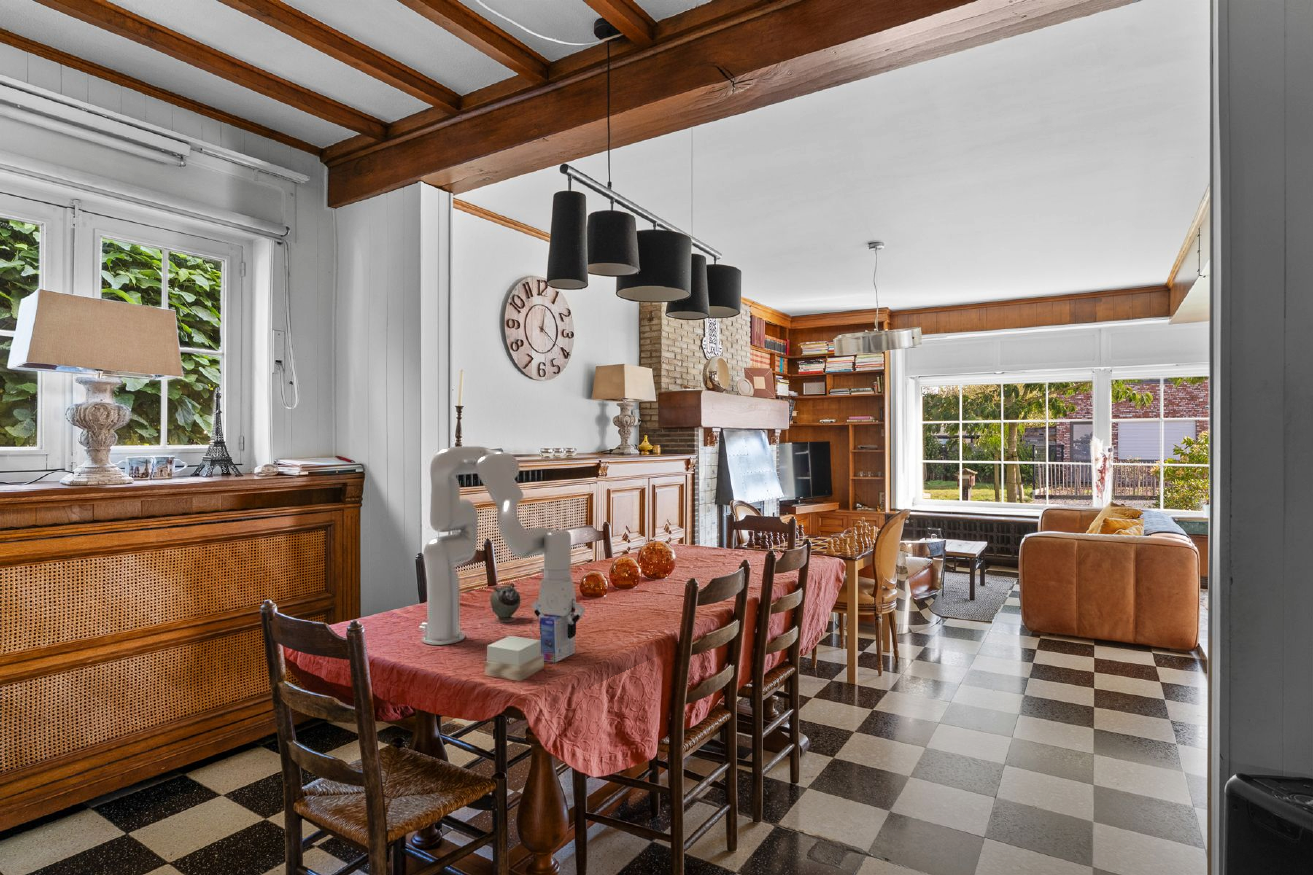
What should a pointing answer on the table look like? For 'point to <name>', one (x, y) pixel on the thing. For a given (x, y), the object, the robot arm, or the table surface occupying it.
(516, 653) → the tower top block
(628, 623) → the table surface
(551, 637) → the ink cartridge box
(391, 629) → the table surface
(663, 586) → the table surface
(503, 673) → the tower bottom block
